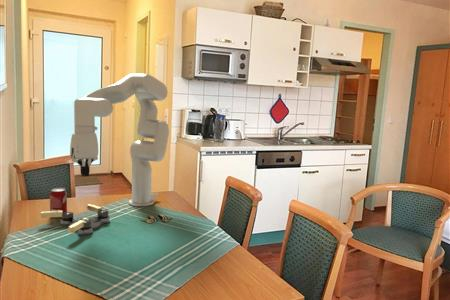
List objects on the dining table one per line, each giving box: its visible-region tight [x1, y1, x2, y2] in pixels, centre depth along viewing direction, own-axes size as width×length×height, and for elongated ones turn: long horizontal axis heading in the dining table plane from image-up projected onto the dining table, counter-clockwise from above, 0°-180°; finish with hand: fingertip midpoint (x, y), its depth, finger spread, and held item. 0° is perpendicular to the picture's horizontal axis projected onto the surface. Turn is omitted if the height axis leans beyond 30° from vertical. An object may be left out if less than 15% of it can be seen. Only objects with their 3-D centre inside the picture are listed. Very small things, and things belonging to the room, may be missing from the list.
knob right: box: [38, 210, 74, 221], centre depth 155 cm, size 13×4×4 cm, turn 109°
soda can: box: [49, 187, 68, 219], centre depth 166 cm, size 7×7×12 cm
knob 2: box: [85, 203, 109, 219], centre depth 164 cm, size 13×4×4 cm, turn 55°
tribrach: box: [60, 215, 110, 236], centre depth 157 cm, size 17×19×3 cm
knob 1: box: [67, 220, 91, 234], centre depth 144 cm, size 13×4×4 cm, turn 169°
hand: (85, 175), depth 153 cm, fingers closed
